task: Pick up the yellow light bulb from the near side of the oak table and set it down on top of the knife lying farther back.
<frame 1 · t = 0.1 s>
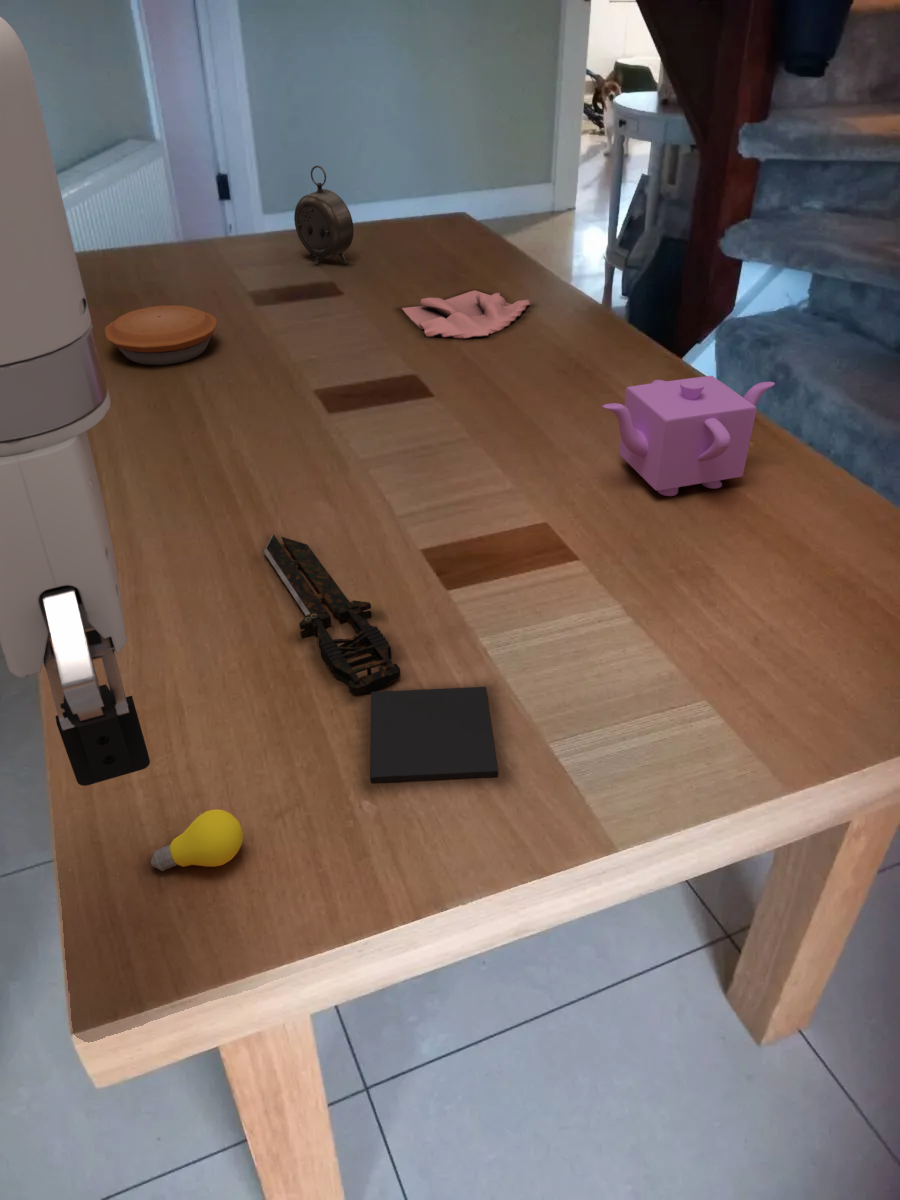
hand: (102, 706, 46), 17 cm above the table, tool pointing down, fingers open, 9 cm apart
teapot: (677, 477, 101), on the table
pie: (166, 352, 132), on the table
knife: (319, 609, 82), on the table
light bulb: (200, 860, 60), on the table
coaster: (431, 735, 69), on the table
alarm clock: (325, 263, 167), on the table
cloth: (470, 315, 144), on the table
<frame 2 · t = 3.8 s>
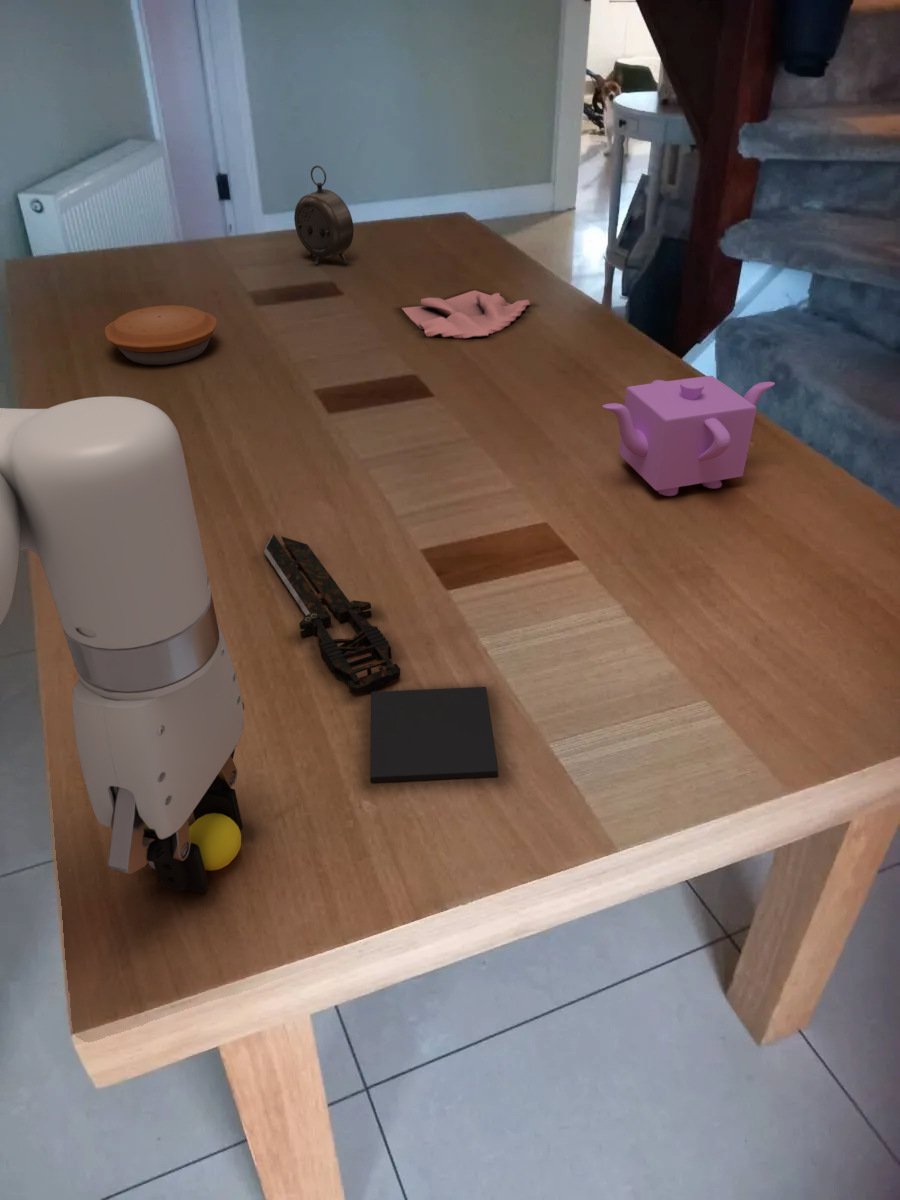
hand: (202, 853, 59), 0 cm above the table, tool pointing down, fingers closed on light bulb, 3 cm apart
light bulb: (199, 863, 59), on the table, touching gripper
everything else where it was.
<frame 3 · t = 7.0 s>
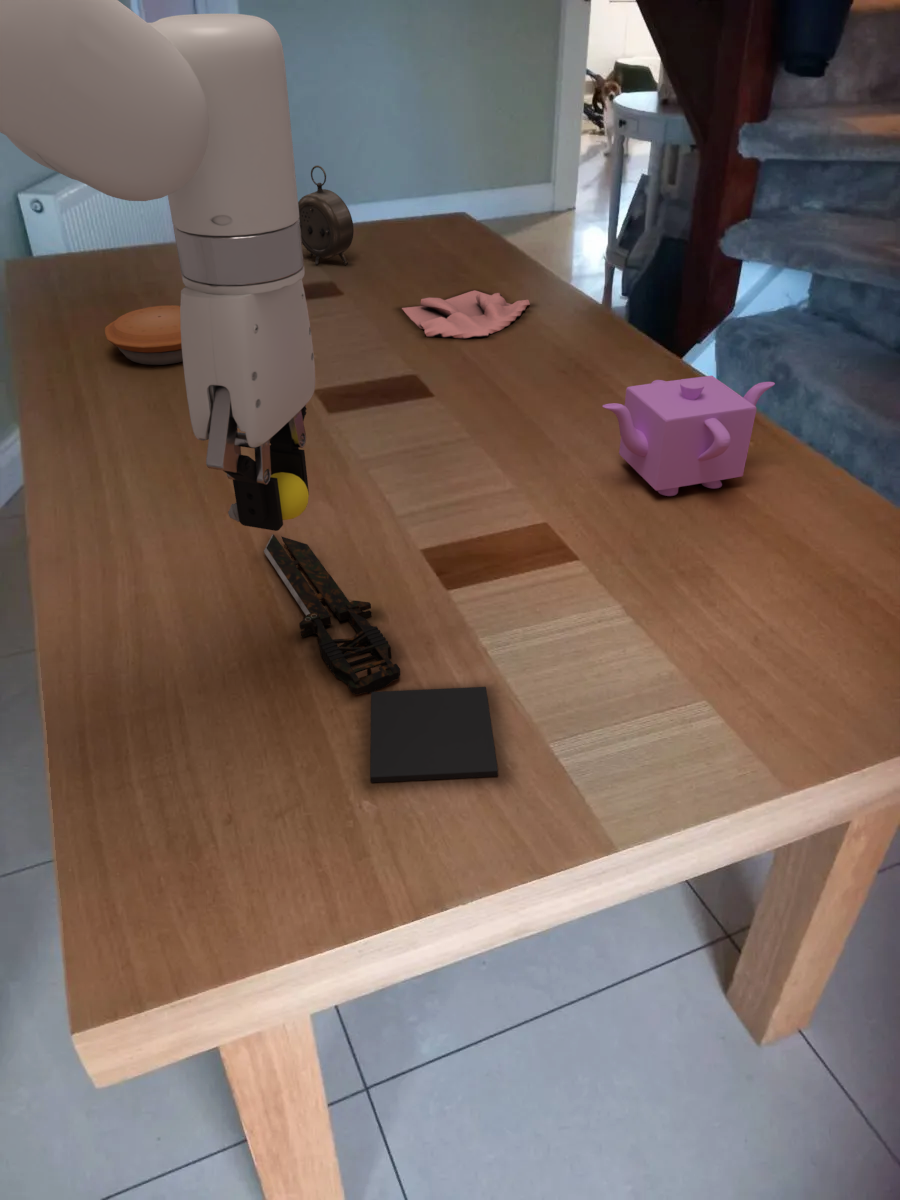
hand: (275, 508, 67), 14 cm above the table, tool pointing down, fingers closed on light bulb, 3 cm apart
light bulb: (271, 519, 67), point 14 cm above the table, touching gripper
everything else where it was.
when the fingers open (2 cm above the table, at t = 10.4 s): light bulb stays where it is, resting on knife.
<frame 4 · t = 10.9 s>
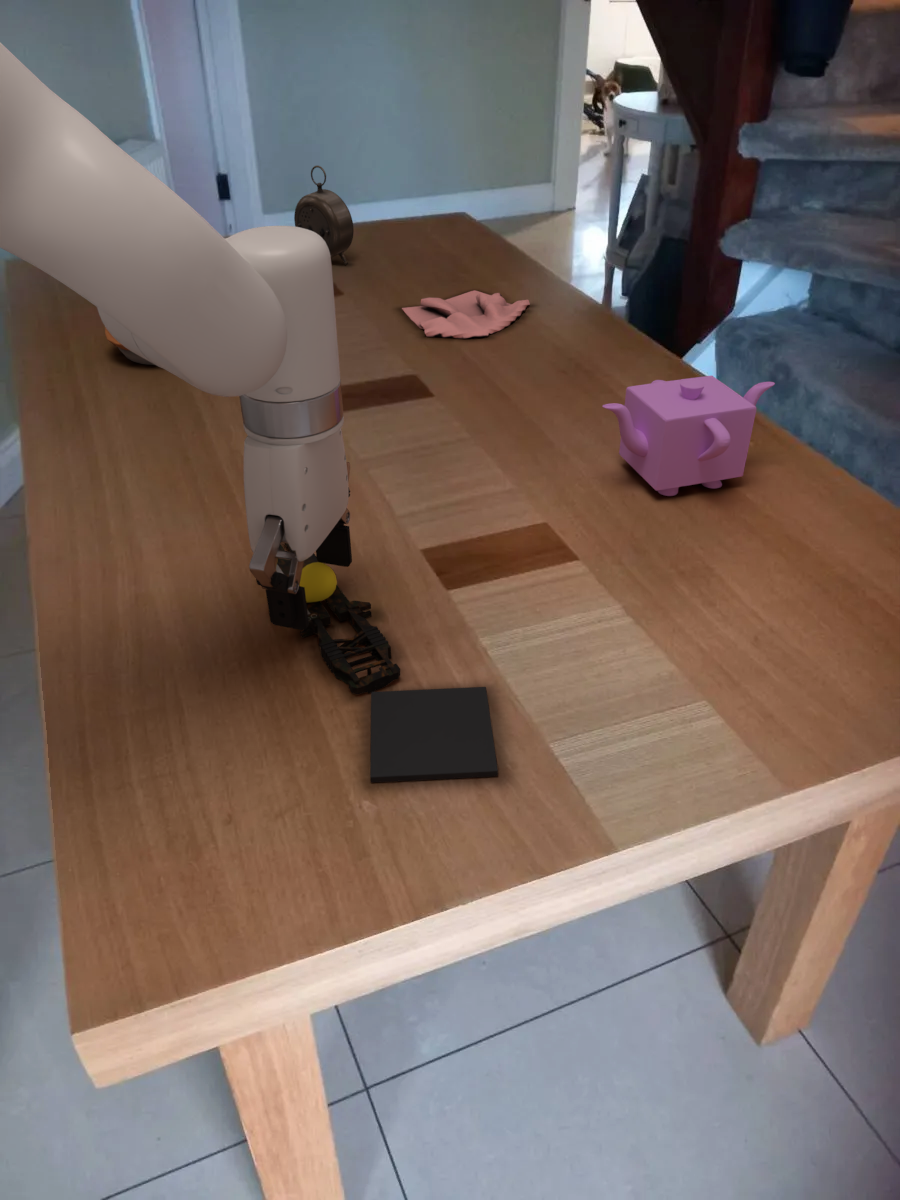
hand: (313, 592, 79), 3 cm above the table, tool pointing down, fingers open, 9 cm apart
knife: (319, 609, 82), on the table, touching light bulb
light bulb: (308, 602, 79), point 2 cm above the table, touching knife
everything else where it was.
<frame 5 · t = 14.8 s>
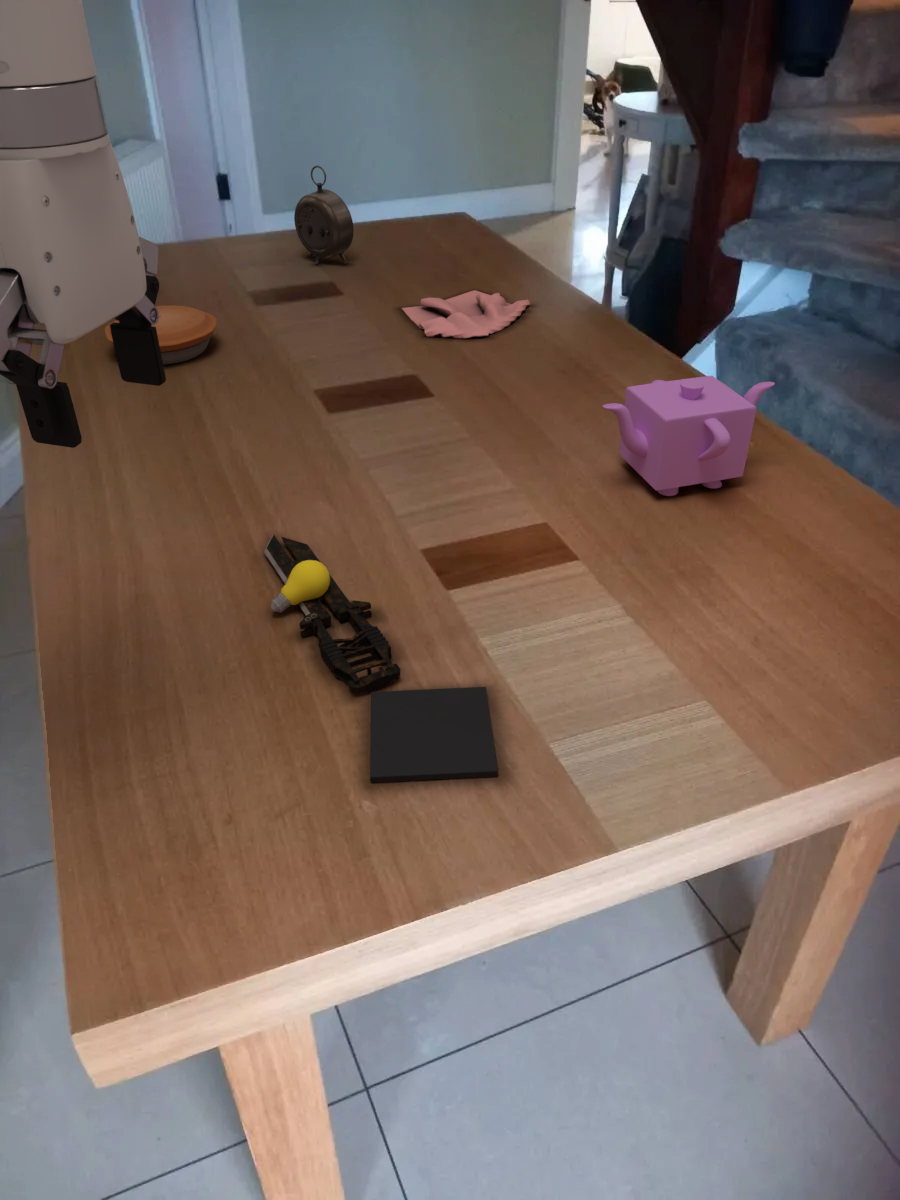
hand: (104, 410, 60), 23 cm above the table, tool pointing down, fingers open, 9 cm apart
at the end: light bulb 1.5 cm from the knife (horizontally); light bulb touching knife; the gripper is holding nothing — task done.
